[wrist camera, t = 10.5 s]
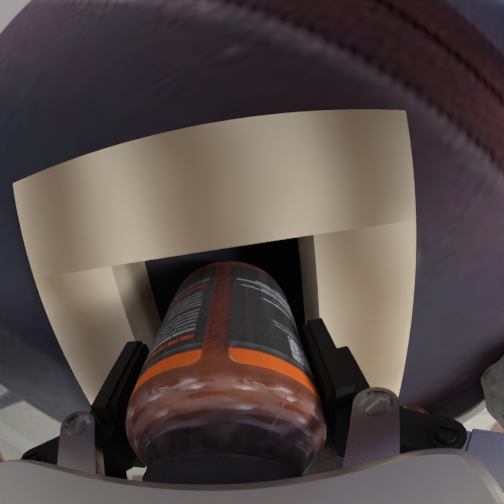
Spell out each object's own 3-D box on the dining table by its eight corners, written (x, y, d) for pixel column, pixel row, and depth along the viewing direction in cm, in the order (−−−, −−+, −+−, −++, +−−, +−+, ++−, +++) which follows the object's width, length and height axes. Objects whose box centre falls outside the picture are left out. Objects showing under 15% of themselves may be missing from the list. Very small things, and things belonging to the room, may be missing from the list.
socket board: (368, 121, 14) (405, 110, 10) (371, 387, 19) (391, 424, 15) (55, 177, 14) (12, 183, 10) (137, 416, 19) (124, 454, 15)
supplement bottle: (161, 335, 15) (91, 519, 5) (196, 238, 14) (89, 427, 3) (260, 369, 16) (277, 556, 5) (307, 282, 15) (407, 480, 4)
